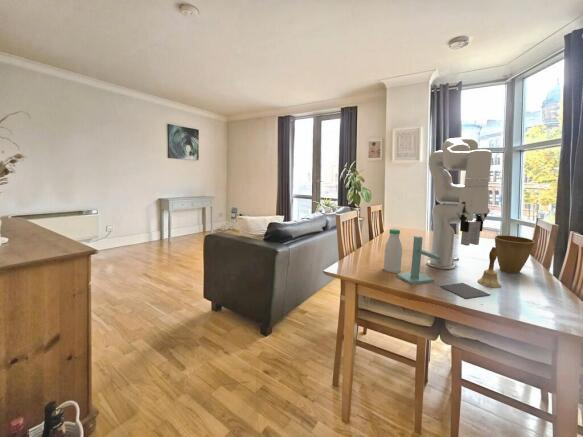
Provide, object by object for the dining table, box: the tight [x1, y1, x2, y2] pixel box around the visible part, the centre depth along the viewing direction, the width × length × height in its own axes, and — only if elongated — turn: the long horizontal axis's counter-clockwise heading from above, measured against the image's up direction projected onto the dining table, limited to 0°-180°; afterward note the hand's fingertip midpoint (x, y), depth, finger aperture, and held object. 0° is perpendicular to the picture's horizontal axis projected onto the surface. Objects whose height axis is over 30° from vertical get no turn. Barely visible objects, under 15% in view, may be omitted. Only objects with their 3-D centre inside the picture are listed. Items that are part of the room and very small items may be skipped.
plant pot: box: [494, 234, 536, 274], centre depth 132 cm, size 15×15×16 cm
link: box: [460, 220, 481, 247], centre depth 105 cm, size 6×2×9 cm, turn 106°
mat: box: [439, 282, 491, 300], centre depth 109 cm, size 12×12×1 cm
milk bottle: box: [383, 228, 403, 274], centre depth 131 cm, size 8×8×20 cm
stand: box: [395, 235, 440, 285], centre depth 117 cm, size 12×17×19 cm
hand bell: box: [477, 246, 502, 288], centre depth 116 cm, size 8×8×16 cm
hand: (471, 230), depth 105 cm, fingers closed on link, 6 cm apart
